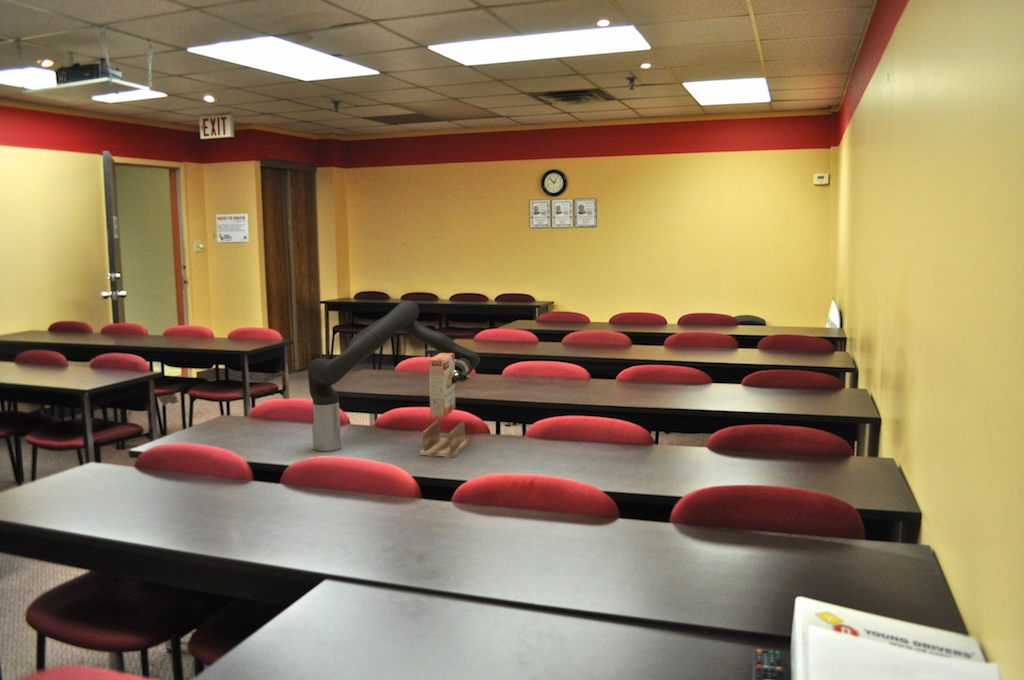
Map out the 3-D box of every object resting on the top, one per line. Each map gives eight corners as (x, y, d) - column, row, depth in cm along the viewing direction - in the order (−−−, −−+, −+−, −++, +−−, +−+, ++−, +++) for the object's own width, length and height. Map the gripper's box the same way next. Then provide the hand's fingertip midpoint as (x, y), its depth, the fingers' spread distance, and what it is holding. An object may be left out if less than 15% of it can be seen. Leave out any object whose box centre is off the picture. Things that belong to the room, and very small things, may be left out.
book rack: (419, 455, 273) (418, 432, 271) (434, 441, 290) (434, 419, 289) (455, 457, 270) (454, 433, 269) (468, 442, 288) (467, 420, 286)
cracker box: (446, 418, 271) (444, 359, 268) (429, 417, 272) (427, 359, 269) (456, 408, 285) (455, 352, 281) (441, 407, 286) (439, 352, 282)
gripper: (437, 361, 295) (424, 370, 279) (474, 362, 292) (462, 371, 276) (438, 380, 296) (425, 390, 280) (475, 381, 293) (463, 391, 277)
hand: (443, 380), depth 278 cm, fingers closed on cracker box, 6 cm apart
